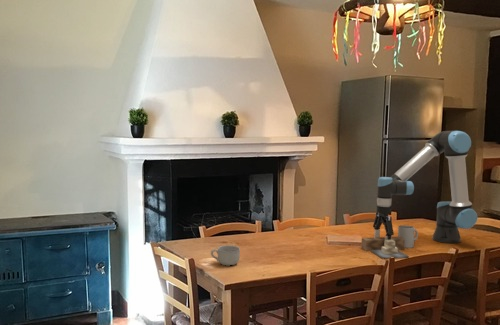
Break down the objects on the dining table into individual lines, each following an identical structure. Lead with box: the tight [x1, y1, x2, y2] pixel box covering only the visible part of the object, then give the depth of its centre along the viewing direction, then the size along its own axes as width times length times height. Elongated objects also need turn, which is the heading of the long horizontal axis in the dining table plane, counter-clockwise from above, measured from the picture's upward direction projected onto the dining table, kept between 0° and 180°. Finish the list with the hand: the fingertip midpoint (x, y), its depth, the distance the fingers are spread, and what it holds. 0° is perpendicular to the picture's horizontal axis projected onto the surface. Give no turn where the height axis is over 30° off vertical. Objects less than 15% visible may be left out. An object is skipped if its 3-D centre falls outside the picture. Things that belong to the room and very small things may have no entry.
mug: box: [397, 224, 419, 249], centre depth 265 cm, size 12×8×11 cm
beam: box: [360, 236, 405, 252], centre depth 258 cm, size 22×6×6 cm, turn 99°
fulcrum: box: [370, 240, 410, 260], centre depth 246 cm, size 14×14×8 cm
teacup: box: [210, 244, 241, 267], centre depth 227 cm, size 14×11×8 cm
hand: (382, 244), depth 258 cm, fingers open, 13 cm apart
